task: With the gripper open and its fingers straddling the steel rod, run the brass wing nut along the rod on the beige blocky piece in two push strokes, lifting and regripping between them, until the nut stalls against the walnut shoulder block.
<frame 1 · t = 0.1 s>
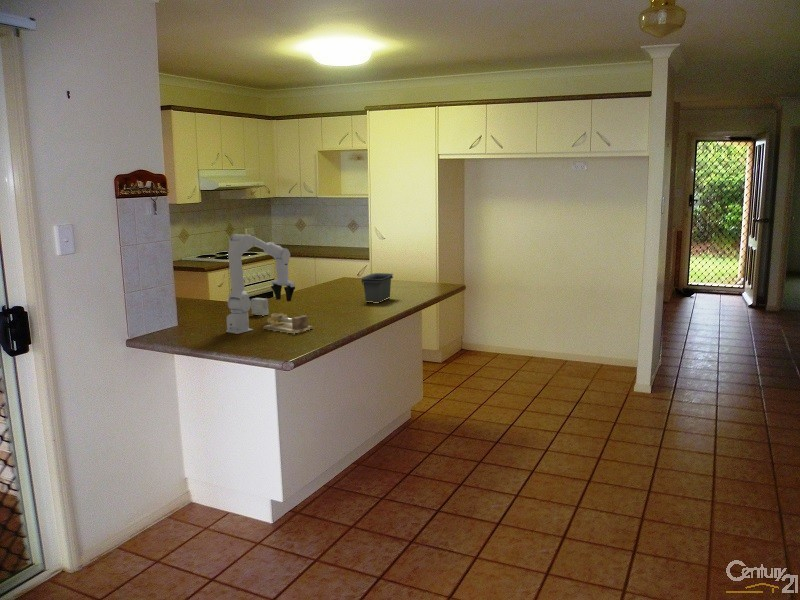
hand: (283, 300, 327), 10 cm above the countertop, tool pointing down, fingers open, 7 cm apart
threaded rod: (285, 319, 308), point 4 cm above the countertop
wing nut: (277, 318, 312), point 4 cm above the countertop, slide at 0.0 cm
medicine box: (260, 315, 342), on the countertop
storage bin: (376, 301, 379), on the countertop
beige blocky piece: (288, 329, 308), on the countertop
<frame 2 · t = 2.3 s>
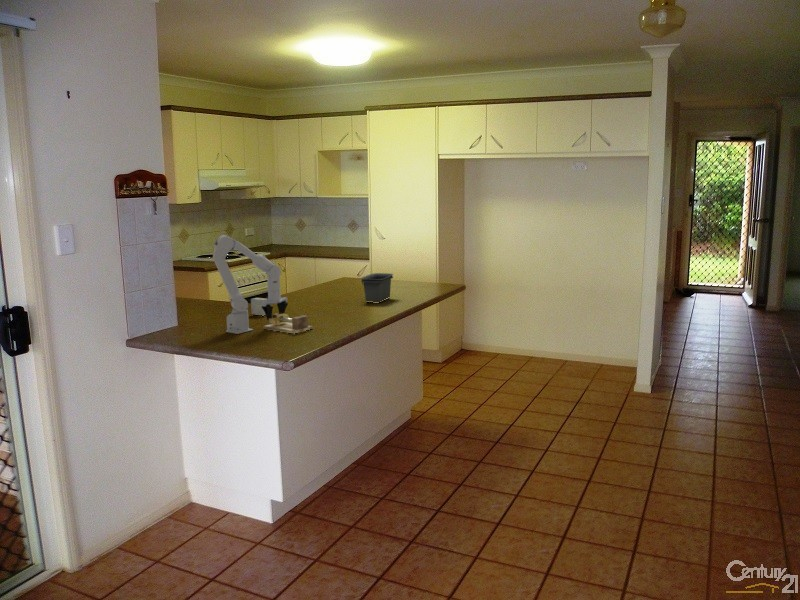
hand: (275, 319, 312), 4 cm above the countertop, tool pointing down, fingers open, 7 cm apart
wing nut: (278, 318, 311), point 4 cm above the countertop, slide at 0.8 cm, touching gripper
everything else where it was.
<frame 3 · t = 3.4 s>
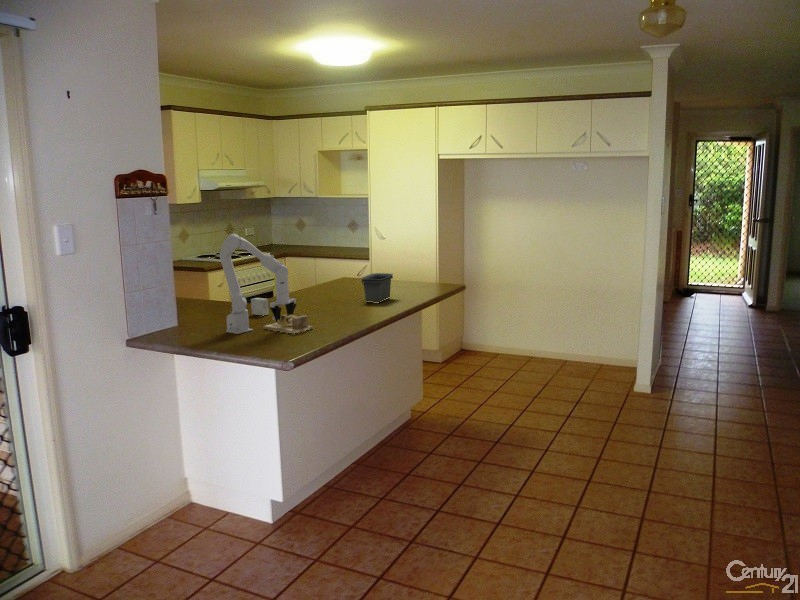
hand: (284, 320, 309), 4 cm above the countertop, tool pointing down
wing nut: (287, 320, 308), point 4 cm above the countertop, slide at 6.3 cm, touching gripper
everything else where it was.
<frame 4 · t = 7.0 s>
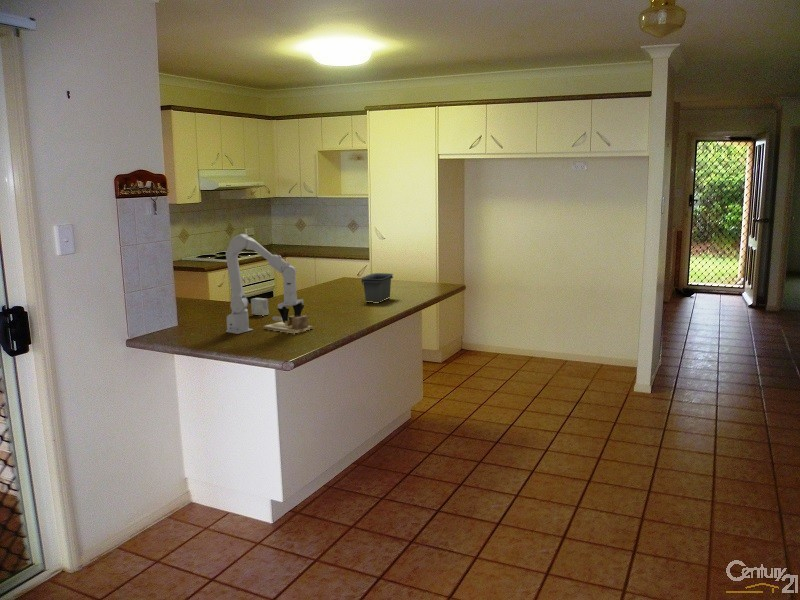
hand: (291, 321, 306), 4 cm above the countertop, tool pointing down
wing nut: (294, 321, 305), point 4 cm above the countertop, slide at 11.2 cm, touching gripper
everything else where it was.
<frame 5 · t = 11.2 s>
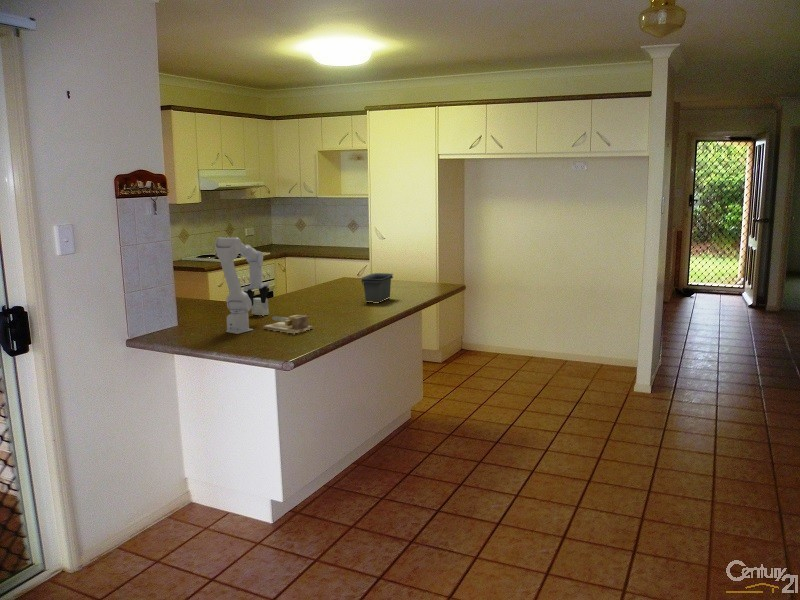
hand: (257, 304, 321), 9 cm above the countertop, tool pointing down, fingers open, 7 cm apart
wing nut: (295, 321, 305), point 4 cm above the countertop, slide at 11.2 cm
everything else where it was.
at the end: wing nut slide at 11.2 cm; medicine box moved 0.3 cm from its start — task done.
